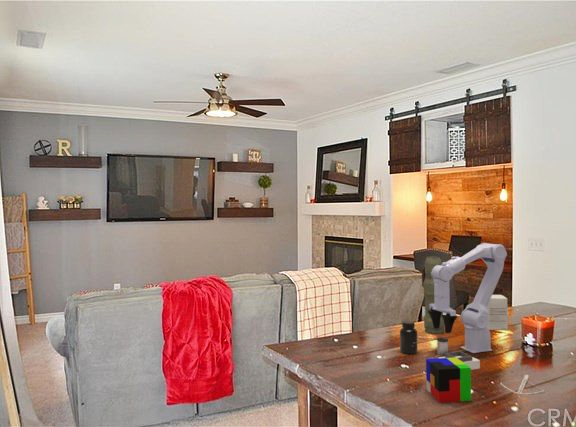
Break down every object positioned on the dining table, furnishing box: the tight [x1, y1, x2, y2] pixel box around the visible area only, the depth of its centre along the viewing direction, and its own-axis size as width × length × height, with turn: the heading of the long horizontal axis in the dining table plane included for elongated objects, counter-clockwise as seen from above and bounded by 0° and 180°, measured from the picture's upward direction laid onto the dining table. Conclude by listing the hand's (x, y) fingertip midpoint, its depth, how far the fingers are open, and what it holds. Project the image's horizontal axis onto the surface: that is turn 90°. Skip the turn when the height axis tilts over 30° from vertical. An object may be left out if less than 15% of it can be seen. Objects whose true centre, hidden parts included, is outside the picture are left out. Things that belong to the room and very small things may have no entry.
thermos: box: [421, 255, 445, 335], centre depth 221 cm, size 9×12×35 cm
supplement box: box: [486, 294, 509, 331], centre depth 226 cm, size 9×9×15 cm
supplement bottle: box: [399, 320, 418, 355], centre depth 192 cm, size 7×7×12 cm
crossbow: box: [499, 374, 545, 396], centre depth 154 cm, size 16×13×2 cm
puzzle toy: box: [425, 357, 472, 403], centre depth 148 cm, size 10×10×10 cm
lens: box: [436, 337, 449, 356], centre depth 188 cm, size 4×4×6 cm
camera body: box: [437, 350, 481, 371], centre depth 173 cm, size 12×8×4 cm, turn 107°
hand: (442, 330), depth 188 cm, fingers open, 7 cm apart
